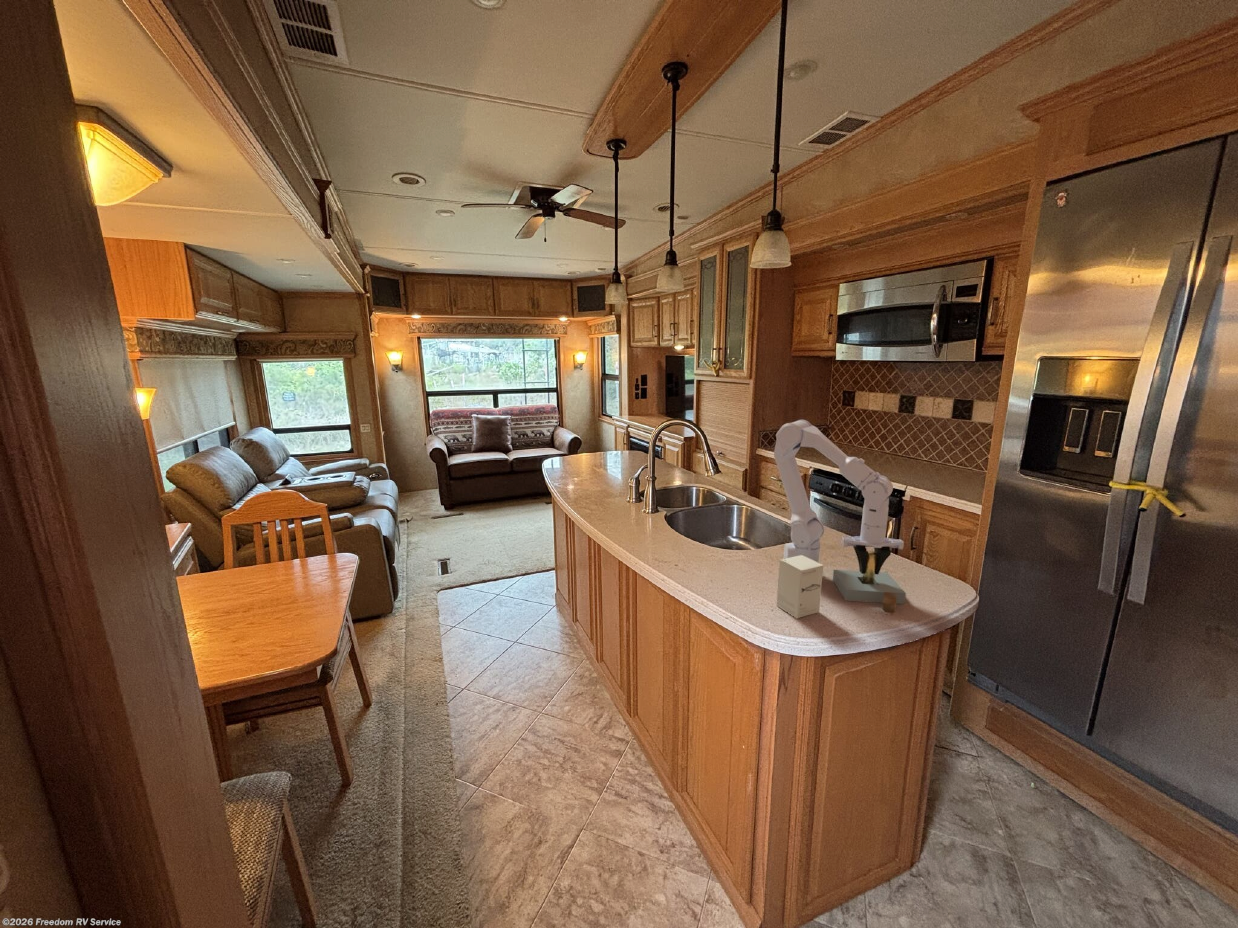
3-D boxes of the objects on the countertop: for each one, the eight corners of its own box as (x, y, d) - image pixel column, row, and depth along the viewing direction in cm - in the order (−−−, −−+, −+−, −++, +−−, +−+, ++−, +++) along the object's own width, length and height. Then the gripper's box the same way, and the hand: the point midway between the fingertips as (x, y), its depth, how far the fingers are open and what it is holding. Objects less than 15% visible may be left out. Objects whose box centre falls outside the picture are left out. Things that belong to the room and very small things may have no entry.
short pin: (884, 612, 118) (886, 597, 117) (880, 606, 121) (882, 591, 120) (896, 613, 118) (898, 598, 117) (892, 607, 121) (894, 592, 120)
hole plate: (845, 600, 124) (846, 589, 123) (832, 579, 136) (833, 569, 135) (904, 603, 122) (905, 593, 121) (886, 582, 134) (887, 572, 133)
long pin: (863, 586, 127) (866, 554, 125) (860, 581, 130) (863, 550, 128) (875, 587, 127) (878, 555, 125) (872, 582, 129) (875, 551, 127)
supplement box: (796, 619, 116) (800, 570, 113) (775, 605, 122) (778, 558, 119) (820, 612, 118) (824, 564, 116) (798, 599, 125) (801, 553, 122)
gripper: (849, 527, 122) (844, 577, 125) (911, 530, 120) (904, 580, 123) (840, 518, 129) (836, 566, 132) (899, 520, 127) (893, 568, 130)
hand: (868, 572), depth 128 cm, fingers closed on long pin, 3 cm apart
